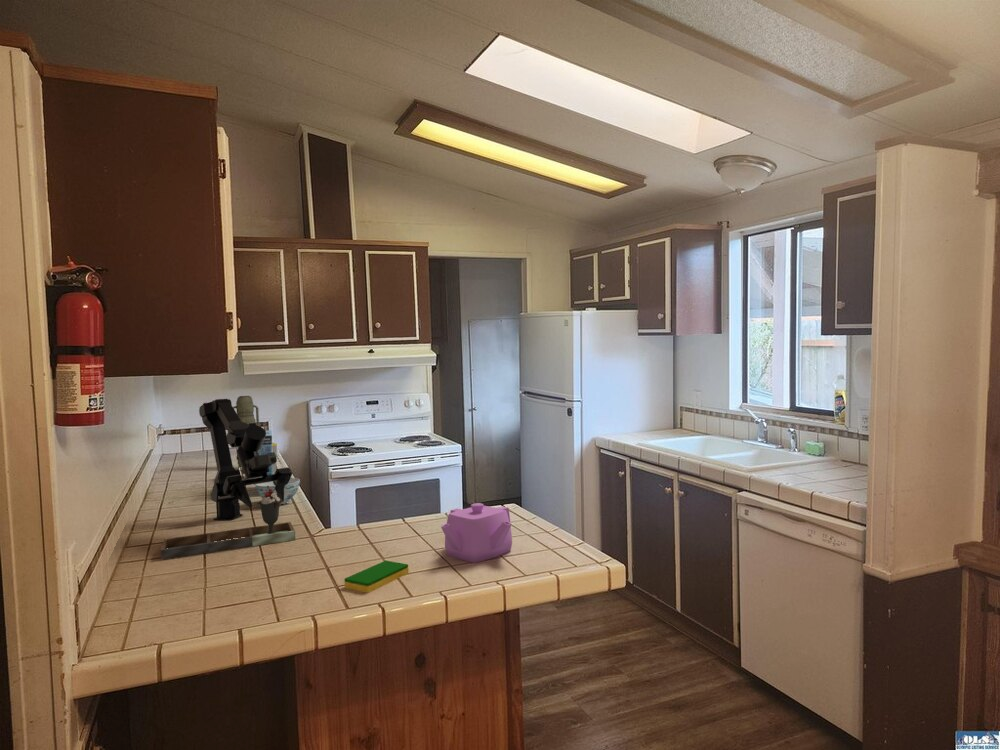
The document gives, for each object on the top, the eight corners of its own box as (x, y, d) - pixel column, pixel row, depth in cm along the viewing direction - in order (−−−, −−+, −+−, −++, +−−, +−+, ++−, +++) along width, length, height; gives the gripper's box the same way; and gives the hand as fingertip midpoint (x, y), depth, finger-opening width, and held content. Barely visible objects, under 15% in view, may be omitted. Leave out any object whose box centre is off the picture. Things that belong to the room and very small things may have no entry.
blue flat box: (261, 487, 257) (258, 431, 256) (274, 485, 259) (271, 430, 258) (260, 496, 239) (257, 436, 238) (274, 495, 240) (271, 434, 240)
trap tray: (161, 559, 164) (160, 550, 164) (164, 548, 174) (164, 539, 174) (295, 540, 177) (295, 531, 177) (290, 530, 188) (290, 522, 188)
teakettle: (511, 541, 168) (509, 495, 168) (513, 562, 151) (511, 510, 151) (447, 544, 168) (445, 498, 168) (442, 565, 151) (440, 513, 151)
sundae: (265, 541, 175) (262, 487, 175) (255, 537, 180) (252, 484, 180) (288, 536, 180) (285, 483, 180) (277, 532, 185) (275, 481, 184)
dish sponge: (409, 574, 146) (409, 564, 146) (368, 594, 135) (367, 583, 135) (386, 570, 150) (385, 559, 150) (343, 589, 138) (343, 578, 138)
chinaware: (284, 497, 236) (283, 476, 236) (309, 501, 227) (308, 479, 227) (247, 505, 224) (246, 483, 224) (273, 510, 215) (272, 487, 215)
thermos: (263, 468, 304) (259, 395, 303) (237, 471, 298) (233, 397, 297) (259, 466, 312) (255, 395, 311) (233, 469, 305) (229, 396, 304)
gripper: (224, 448, 178) (240, 492, 171) (288, 440, 191) (306, 481, 183) (216, 472, 184) (231, 516, 177) (278, 463, 197) (295, 504, 189)
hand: (267, 504), depth 181 cm, fingers open, 9 cm apart
